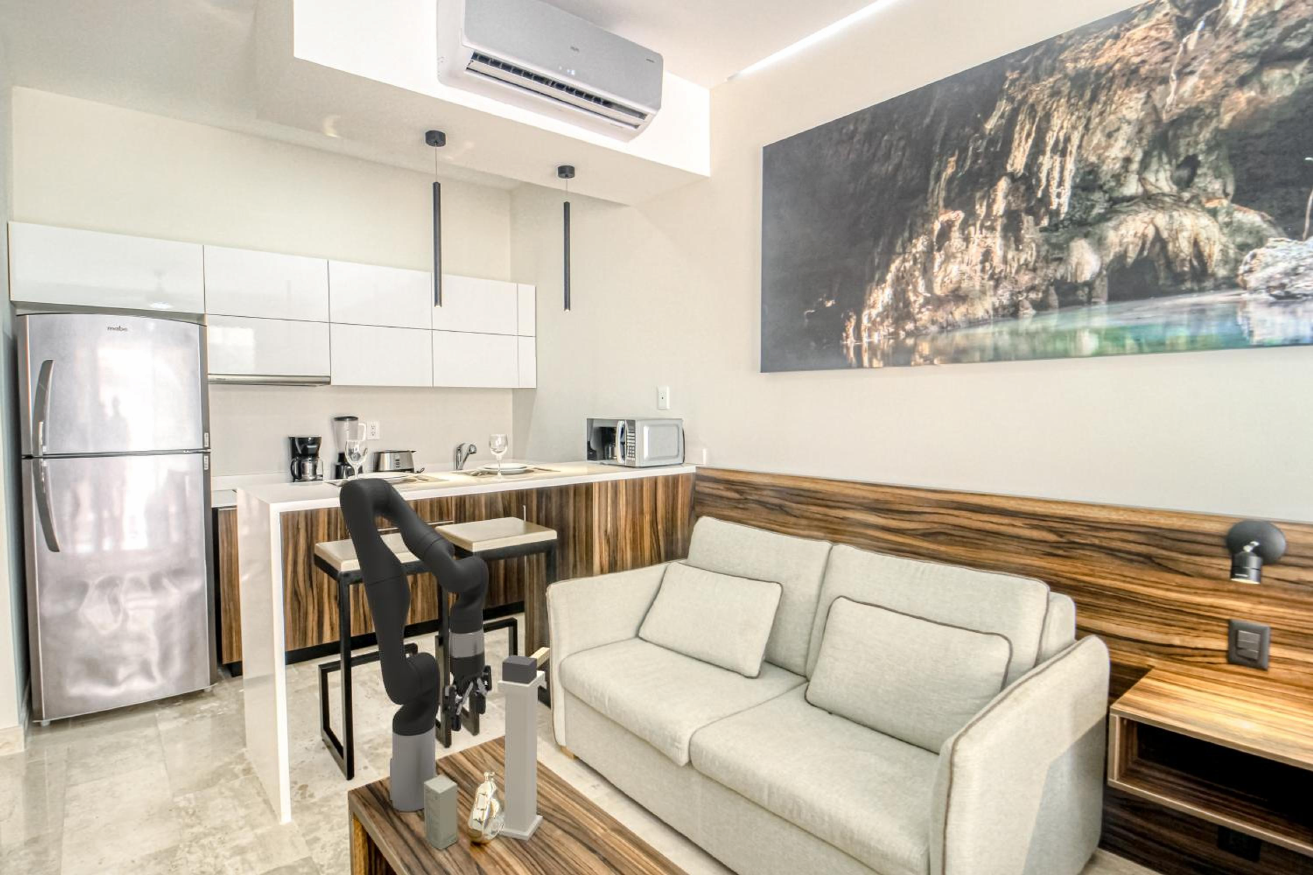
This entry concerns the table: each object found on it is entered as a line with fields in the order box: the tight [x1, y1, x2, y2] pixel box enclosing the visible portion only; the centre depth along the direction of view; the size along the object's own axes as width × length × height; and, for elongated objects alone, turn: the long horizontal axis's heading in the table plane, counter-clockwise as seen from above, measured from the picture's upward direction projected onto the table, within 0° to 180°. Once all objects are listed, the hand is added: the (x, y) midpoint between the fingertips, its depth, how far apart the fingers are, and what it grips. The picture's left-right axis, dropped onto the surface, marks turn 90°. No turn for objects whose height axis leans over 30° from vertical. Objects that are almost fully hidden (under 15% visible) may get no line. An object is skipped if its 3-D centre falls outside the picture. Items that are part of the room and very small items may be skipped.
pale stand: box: [497, 670, 546, 842], centre depth 141 cm, size 8×7×33 cm
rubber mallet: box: [501, 646, 551, 684], centre depth 145 cm, size 15×6×4 cm, turn 164°
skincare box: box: [423, 773, 459, 851], centre depth 138 cm, size 6×4×12 cm
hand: (468, 721), depth 146 cm, fingers open, 8 cm apart
